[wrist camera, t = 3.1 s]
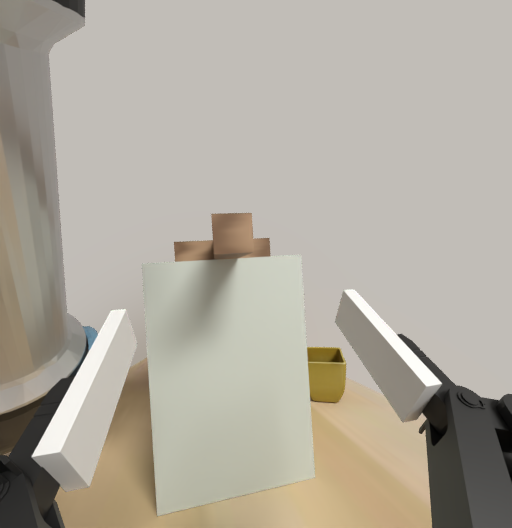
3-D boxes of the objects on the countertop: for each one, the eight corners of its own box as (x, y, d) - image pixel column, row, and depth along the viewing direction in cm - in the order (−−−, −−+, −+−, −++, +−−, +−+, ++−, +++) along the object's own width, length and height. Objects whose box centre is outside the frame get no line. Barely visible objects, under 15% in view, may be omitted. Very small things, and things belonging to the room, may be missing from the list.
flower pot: (304, 383, 54) (301, 346, 54) (342, 386, 52) (340, 346, 52) (303, 406, 46) (300, 361, 46) (349, 410, 44) (346, 363, 44)
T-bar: (133, 258, 16) (130, 215, 16) (179, 263, 37) (178, 244, 37) (321, 248, 18) (319, 211, 18) (264, 258, 39) (263, 241, 39)
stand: (157, 516, 27) (141, 263, 27) (172, 449, 37) (161, 264, 37) (315, 477, 31) (301, 254, 31) (290, 426, 40) (280, 257, 41)
